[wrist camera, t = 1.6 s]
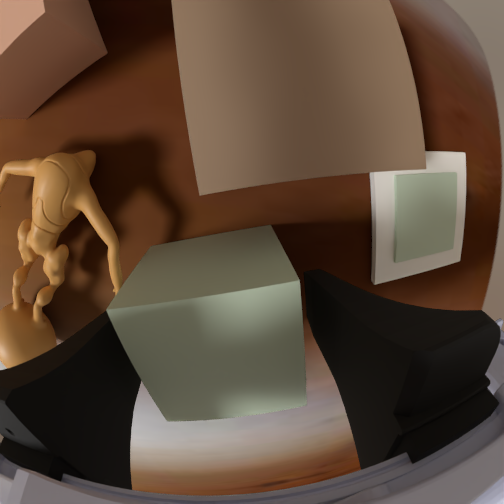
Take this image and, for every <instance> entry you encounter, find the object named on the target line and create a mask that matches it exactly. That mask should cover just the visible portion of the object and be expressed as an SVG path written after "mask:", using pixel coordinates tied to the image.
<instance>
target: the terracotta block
mask: <svg viewBox="0 0 504 504" xmlns="http://www.w3.org/2000/svg"><path fill="white" fill-rule="evenodd" d="M107 53H108V52H107V50H106V47H105V45H104V42H103V40H102V37H101V34H100V32H99V29H98V26H97V24H96V21H95V18H94V15H93V13H92V10H91V7H90V4H89V1H88V0H0V119H27V118H28V117H29V116H30V115H31V114H32V113H34V112H35V111H36V110H37V109H38V108H39V107H40V106H41V105H42V104H43V103H44V102H45V101H46V100H47V99H48V98H50V97H51V96H52V95H53V94H54V93H55V92H56V91H58V90H59V89H60V88H61V87H62V86H64V85H65V84H66V83H67V82H69V81H70V80H71V79H72V78H74V77H75V76H76V75H78V74H79V73H80V72H82V71H83V70H84V69H86V68H87V67H88V66H90V65H91V64H93V63H94V62H95V61H97V60H98V59H100V58H101V57H103V56H104V55H106V54H107Z"/></svg>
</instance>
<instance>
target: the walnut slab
mask: <svg viewBox="0 0 504 504" xmlns="http://www.w3.org/2000/svg"><path fill="white" fill-rule="evenodd" d="M172 11H173V21H174V31H175V40H176V48H177V56H178V64H179V72H180V79H181V87H182V94H183V101H184V107H185V114H186V120H187V126H188V133H189V139H190V145H191V151H192V156H193V162H194V168H195V173H196V179H197V184H198V189H199V195H205V194H210V193H216V192H222V191H227V190H233V189H239V188H245V187H252V186H258V185H265V184H271V183H279V182H286V181H293V180H301V179H309V178H318V177H327V176H337V175H347V174H358V173H370V172H384V171H401V170H423V169H426V155H425V145H424V136H423V128H422V120H421V114H420V108H419V102H418V97H417V91H416V87H415V82H414V77H413V73H412V69H411V65H410V61H409V57H408V54H407V50H406V47H405V43H404V40H403V37H402V34H401V31H400V28H399V25H398V22H397V19H396V17H395V14H394V11H393V9H392V6H391V4H390V1H389V0H172Z"/></svg>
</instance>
